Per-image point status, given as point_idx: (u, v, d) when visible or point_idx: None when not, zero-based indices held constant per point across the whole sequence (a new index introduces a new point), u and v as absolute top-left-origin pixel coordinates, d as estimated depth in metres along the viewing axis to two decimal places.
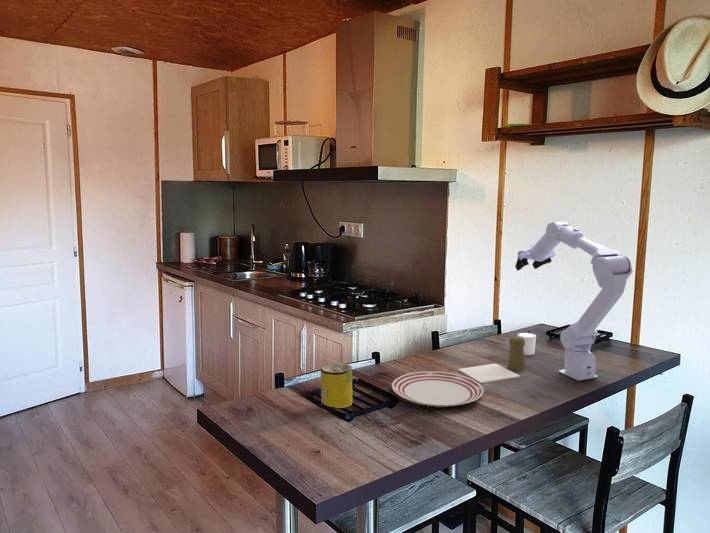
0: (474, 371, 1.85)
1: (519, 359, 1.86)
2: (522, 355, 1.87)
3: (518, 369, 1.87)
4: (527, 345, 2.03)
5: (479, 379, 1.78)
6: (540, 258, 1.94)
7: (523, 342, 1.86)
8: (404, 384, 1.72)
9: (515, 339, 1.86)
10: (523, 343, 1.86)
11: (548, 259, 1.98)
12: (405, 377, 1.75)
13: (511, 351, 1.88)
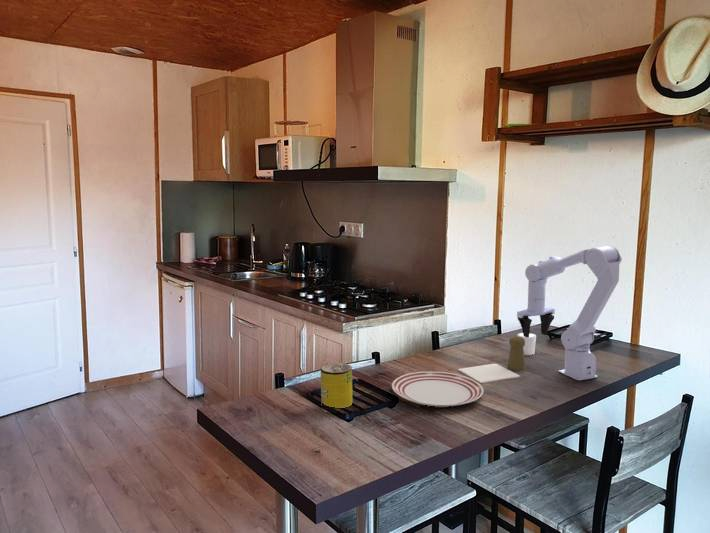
0: (474, 371, 1.85)
1: (519, 359, 1.86)
2: (522, 355, 1.87)
3: (518, 369, 1.87)
4: (527, 345, 2.03)
5: (479, 379, 1.78)
6: (539, 310, 1.90)
7: (523, 342, 1.86)
8: (404, 384, 1.72)
9: (515, 339, 1.86)
10: (523, 343, 1.86)
11: (550, 315, 1.94)
12: (405, 377, 1.75)
13: (511, 351, 1.88)
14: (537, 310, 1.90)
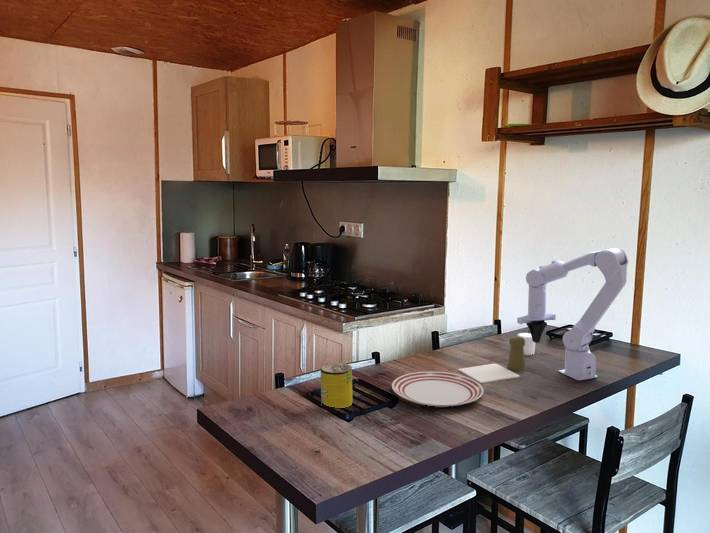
0: (474, 371, 1.85)
1: (519, 359, 1.86)
2: (522, 355, 1.87)
3: (518, 369, 1.87)
4: (527, 345, 2.03)
5: (479, 379, 1.78)
6: (539, 315, 1.87)
7: (523, 342, 1.86)
8: (404, 384, 1.72)
9: (515, 339, 1.86)
10: (523, 343, 1.86)
11: None
12: (405, 377, 1.75)
13: (511, 351, 1.88)
14: (538, 316, 1.87)
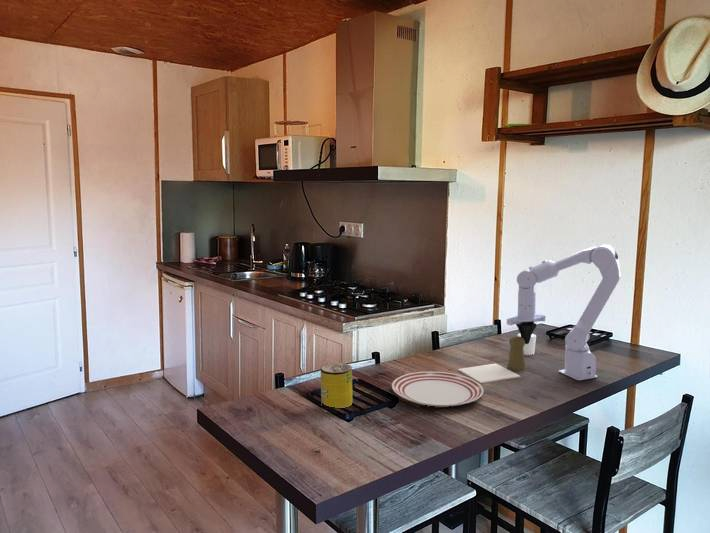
0: (474, 371, 1.85)
1: (519, 359, 1.86)
2: (522, 355, 1.87)
3: (518, 369, 1.87)
4: (527, 345, 2.03)
5: (479, 379, 1.78)
6: (529, 317, 1.85)
7: (523, 342, 1.86)
8: (404, 384, 1.72)
9: (515, 339, 1.86)
10: (523, 343, 1.86)
11: None
12: (405, 377, 1.75)
13: (511, 351, 1.88)
14: (527, 317, 1.85)
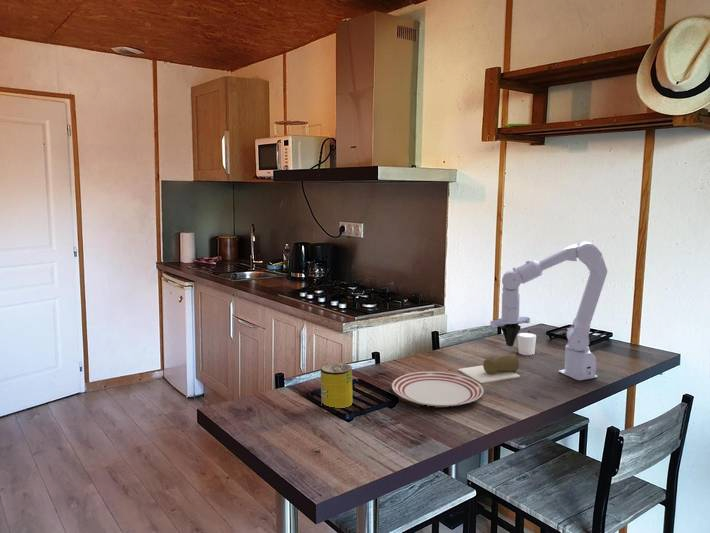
0: (474, 371, 1.85)
1: (505, 371, 1.84)
2: (504, 369, 1.83)
3: (513, 371, 1.85)
4: (527, 345, 2.03)
5: (479, 379, 1.78)
6: (513, 319, 1.83)
7: (492, 371, 1.81)
8: (404, 384, 1.72)
9: (485, 371, 1.83)
10: (493, 371, 1.81)
11: None
12: (405, 377, 1.75)
13: None
14: (511, 319, 1.83)
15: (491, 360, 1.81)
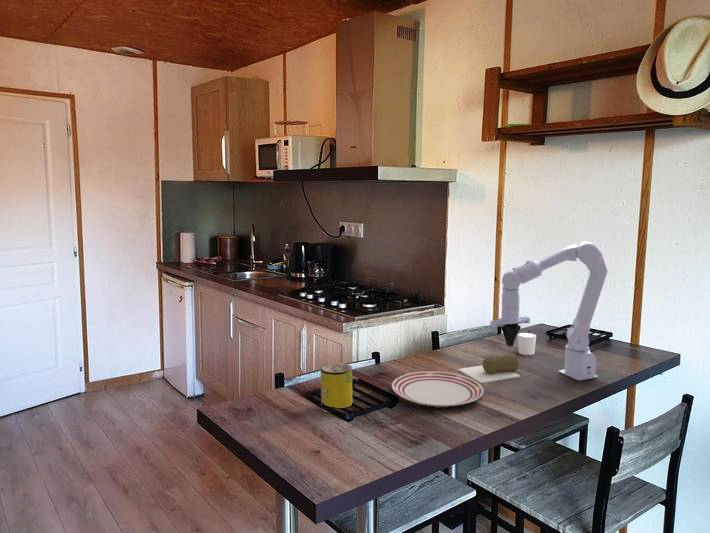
0: (474, 371, 1.85)
1: (505, 370, 1.84)
2: (503, 368, 1.83)
3: None
4: (527, 345, 2.03)
5: (479, 379, 1.78)
6: (513, 319, 1.83)
7: (492, 370, 1.81)
8: (404, 384, 1.72)
9: (485, 371, 1.83)
10: (493, 370, 1.81)
11: None
12: (405, 377, 1.75)
13: None
14: (511, 319, 1.83)
15: (490, 359, 1.82)
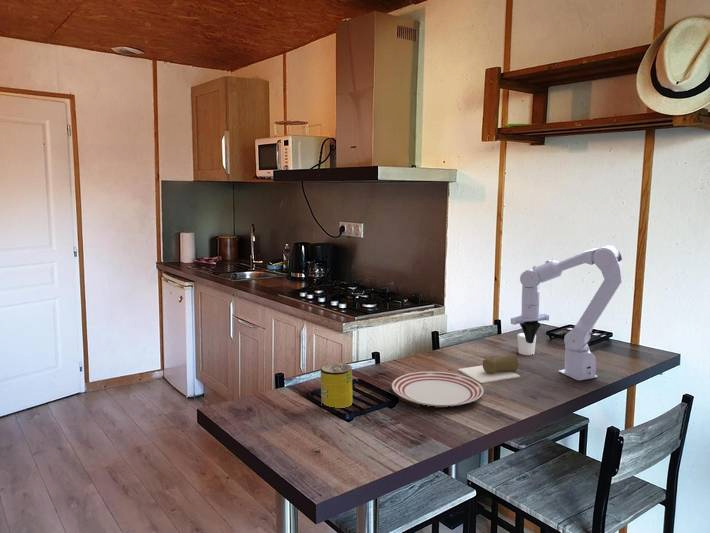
0: (474, 371, 1.85)
1: (505, 370, 1.84)
2: (503, 368, 1.83)
3: None
4: (527, 345, 2.03)
5: (479, 379, 1.78)
6: (533, 316, 1.86)
7: (492, 370, 1.81)
8: (404, 384, 1.72)
9: (485, 371, 1.83)
10: (493, 370, 1.81)
11: None
12: (405, 377, 1.75)
13: None
14: (531, 316, 1.86)
15: (490, 359, 1.82)
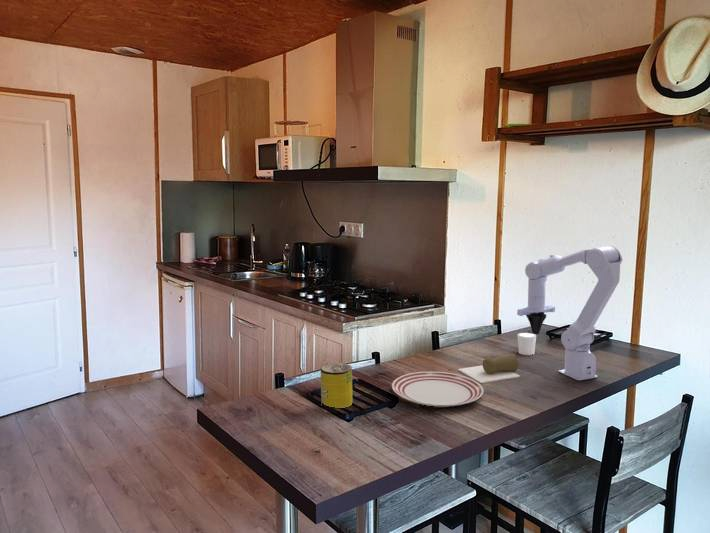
0: (474, 371, 1.85)
1: (505, 370, 1.84)
2: (503, 368, 1.83)
3: None
4: (527, 345, 2.03)
5: (479, 379, 1.78)
6: (539, 307, 1.90)
7: (492, 370, 1.81)
8: (404, 384, 1.72)
9: (485, 371, 1.83)
10: (493, 370, 1.81)
11: None
12: (405, 377, 1.75)
13: None
14: (537, 308, 1.90)
15: (490, 359, 1.82)
